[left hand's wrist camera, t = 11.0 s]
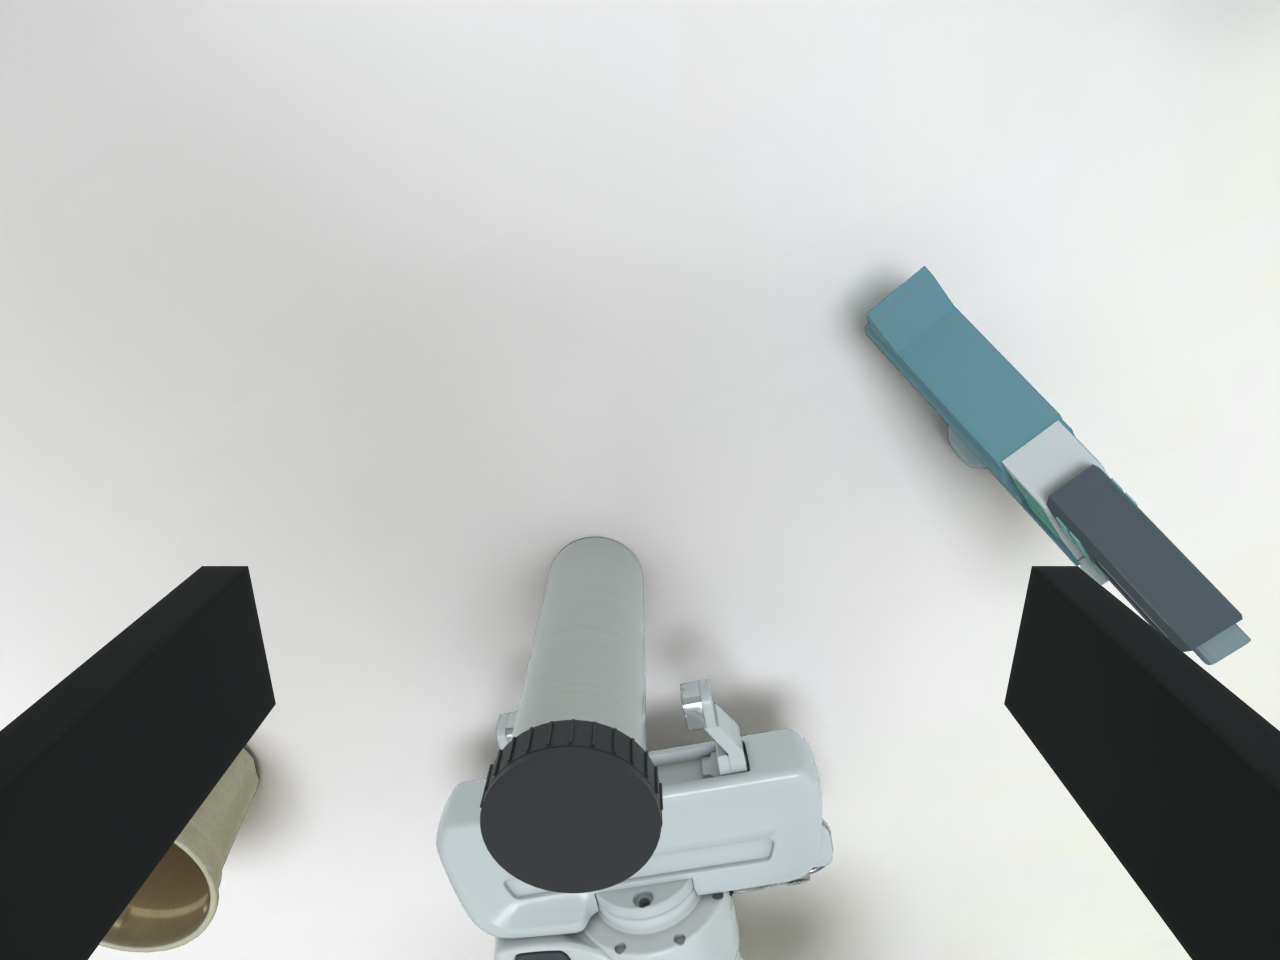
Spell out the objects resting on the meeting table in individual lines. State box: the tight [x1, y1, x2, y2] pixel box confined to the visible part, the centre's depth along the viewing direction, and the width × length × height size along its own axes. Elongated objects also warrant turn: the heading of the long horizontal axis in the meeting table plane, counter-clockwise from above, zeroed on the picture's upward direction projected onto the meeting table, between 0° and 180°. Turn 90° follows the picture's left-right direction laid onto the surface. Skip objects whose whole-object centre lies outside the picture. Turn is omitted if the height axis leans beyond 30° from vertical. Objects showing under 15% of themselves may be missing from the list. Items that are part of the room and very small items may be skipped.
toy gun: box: [865, 266, 1251, 665], centre depth 34 cm, size 4×19×10 cm
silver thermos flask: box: [511, 537, 647, 752], centre depth 34 cm, size 5×5×17 cm
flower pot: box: [99, 748, 259, 952], centre depth 42 cm, size 9×9×9 cm
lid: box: [480, 719, 663, 893], centre depth 26 cm, size 6×6×2 cm
